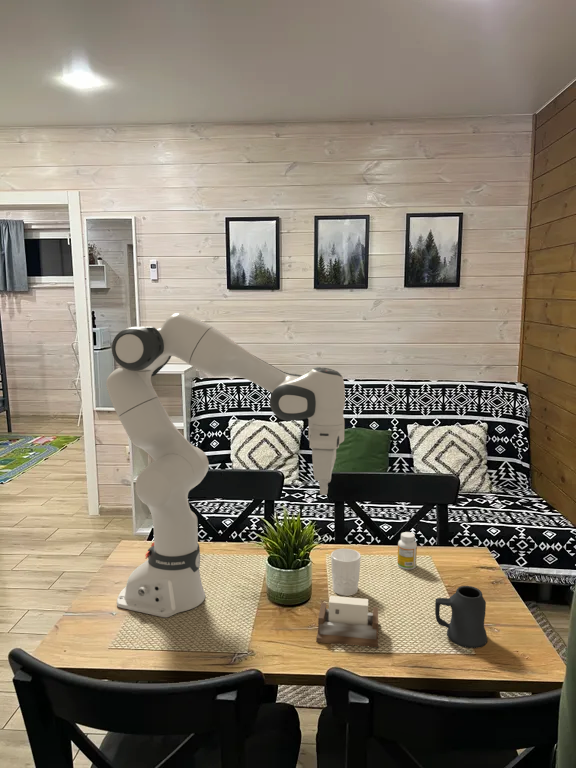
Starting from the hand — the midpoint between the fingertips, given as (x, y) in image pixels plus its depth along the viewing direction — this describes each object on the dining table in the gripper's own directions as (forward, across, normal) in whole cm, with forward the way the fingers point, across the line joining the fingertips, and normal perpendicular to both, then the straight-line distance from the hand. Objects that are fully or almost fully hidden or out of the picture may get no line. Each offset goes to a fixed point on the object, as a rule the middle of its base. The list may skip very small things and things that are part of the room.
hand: (325, 487), depth 144 cm
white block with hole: (+30, +12, +7) cm, 33 cm away
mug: (+31, +9, +33) cm, 46 cm away
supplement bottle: (+31, -25, +22) cm, 46 cm away
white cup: (+31, -8, +5) cm, 33 cm away
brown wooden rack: (+31, +12, +7) cm, 34 cm away
